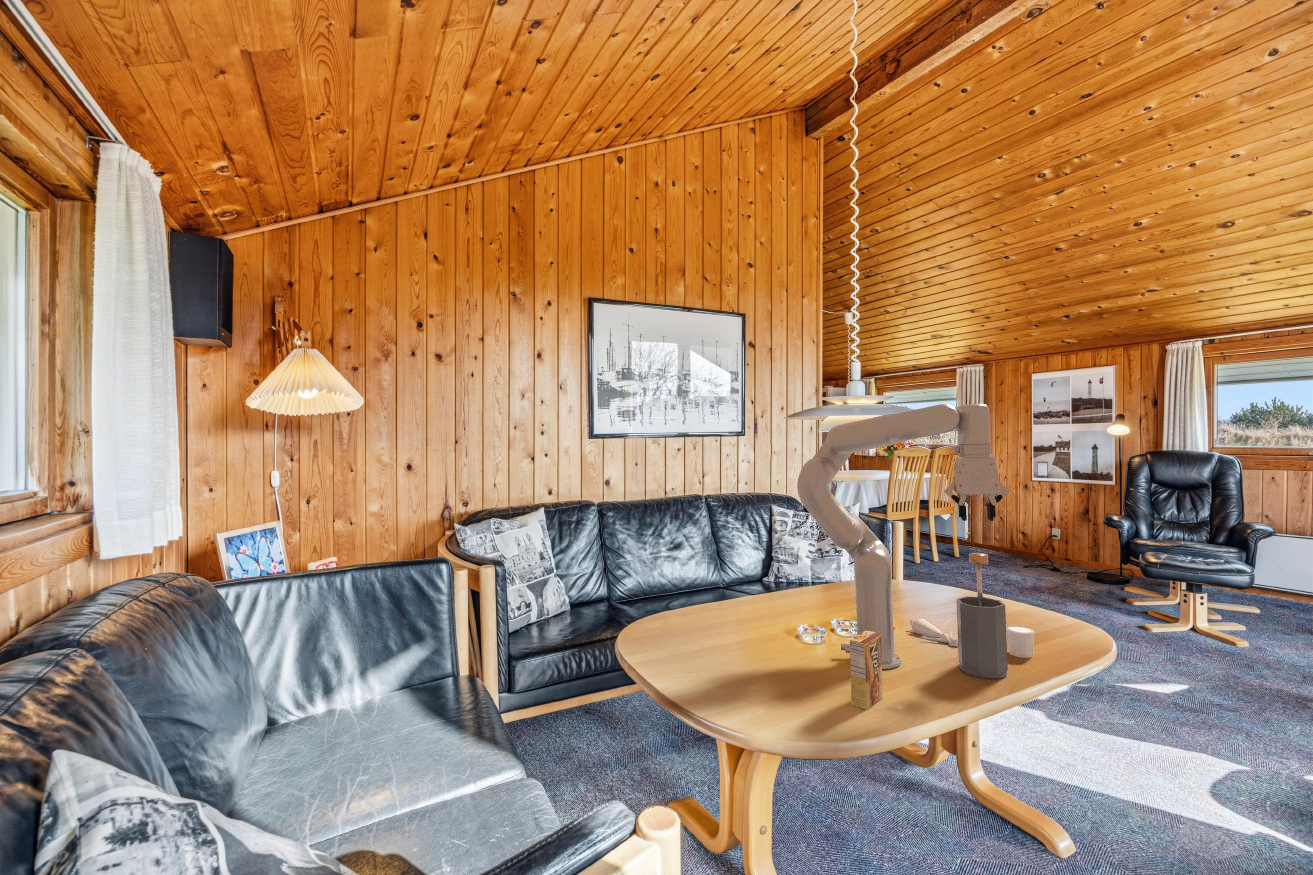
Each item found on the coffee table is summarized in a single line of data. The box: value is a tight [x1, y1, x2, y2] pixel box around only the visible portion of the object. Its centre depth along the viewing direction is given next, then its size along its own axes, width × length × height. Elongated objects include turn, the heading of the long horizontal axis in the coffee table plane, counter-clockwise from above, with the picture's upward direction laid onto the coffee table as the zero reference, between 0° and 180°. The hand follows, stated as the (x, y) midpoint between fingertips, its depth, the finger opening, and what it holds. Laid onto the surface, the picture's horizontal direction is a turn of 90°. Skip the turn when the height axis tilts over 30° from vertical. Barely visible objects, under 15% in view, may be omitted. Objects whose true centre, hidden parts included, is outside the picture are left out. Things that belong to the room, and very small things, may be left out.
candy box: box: [849, 631, 884, 711], centre depth 137 cm, size 9×4×15 cm, turn 137°
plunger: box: [968, 552, 989, 607], centre depth 153 cm, size 8×8×17 cm
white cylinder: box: [1006, 625, 1035, 659], centre depth 164 cm, size 7×7×7 cm
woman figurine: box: [909, 618, 958, 648], centre depth 179 cm, size 12×4×18 cm
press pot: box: [956, 595, 1009, 680], centre depth 155 cm, size 11×14×18 cm
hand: (977, 519), depth 153 cm, fingers open, 5 cm apart
